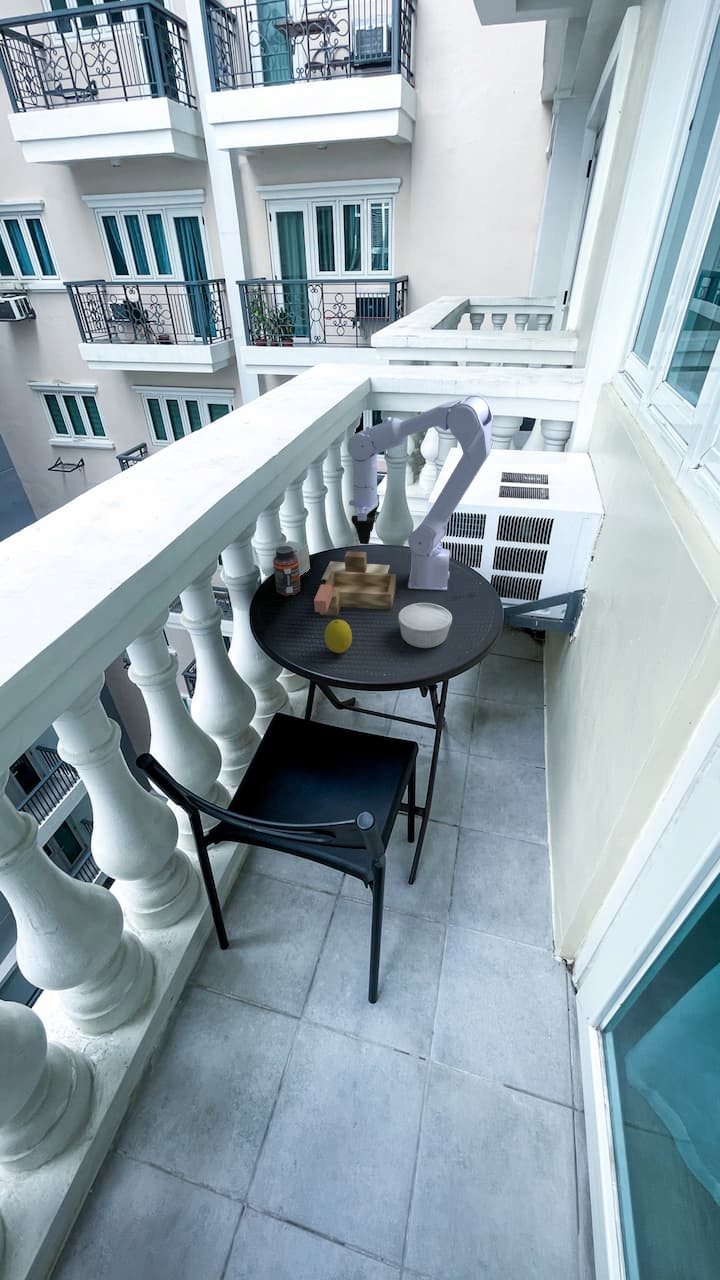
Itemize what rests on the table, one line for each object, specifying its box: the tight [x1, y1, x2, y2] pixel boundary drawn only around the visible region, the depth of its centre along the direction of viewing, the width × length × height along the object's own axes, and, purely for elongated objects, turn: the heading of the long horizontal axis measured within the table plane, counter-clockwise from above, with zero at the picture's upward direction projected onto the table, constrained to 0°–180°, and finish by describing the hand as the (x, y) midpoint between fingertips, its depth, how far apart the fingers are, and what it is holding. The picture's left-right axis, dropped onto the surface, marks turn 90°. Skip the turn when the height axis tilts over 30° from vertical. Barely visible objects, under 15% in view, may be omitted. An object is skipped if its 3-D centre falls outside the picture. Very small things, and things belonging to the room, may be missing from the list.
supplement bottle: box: [272, 545, 301, 597], centre depth 131 cm, size 6×6×11 cm
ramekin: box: [397, 602, 453, 649], centre depth 115 cm, size 11×11×5 cm
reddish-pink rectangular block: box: [313, 583, 333, 613], centre depth 117 cm, size 2×7×3 cm, turn 172°
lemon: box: [324, 619, 353, 654], centre depth 110 cm, size 6×6×8 cm
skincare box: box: [281, 540, 311, 577], centre depth 140 cm, size 6×6×7 cm
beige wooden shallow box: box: [319, 571, 397, 617], centre depth 128 cm, size 16×14×5 cm
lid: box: [321, 550, 390, 582], centre depth 139 cm, size 16×10×6 cm, turn 79°
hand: (366, 537), depth 137 cm, fingers open, 7 cm apart
